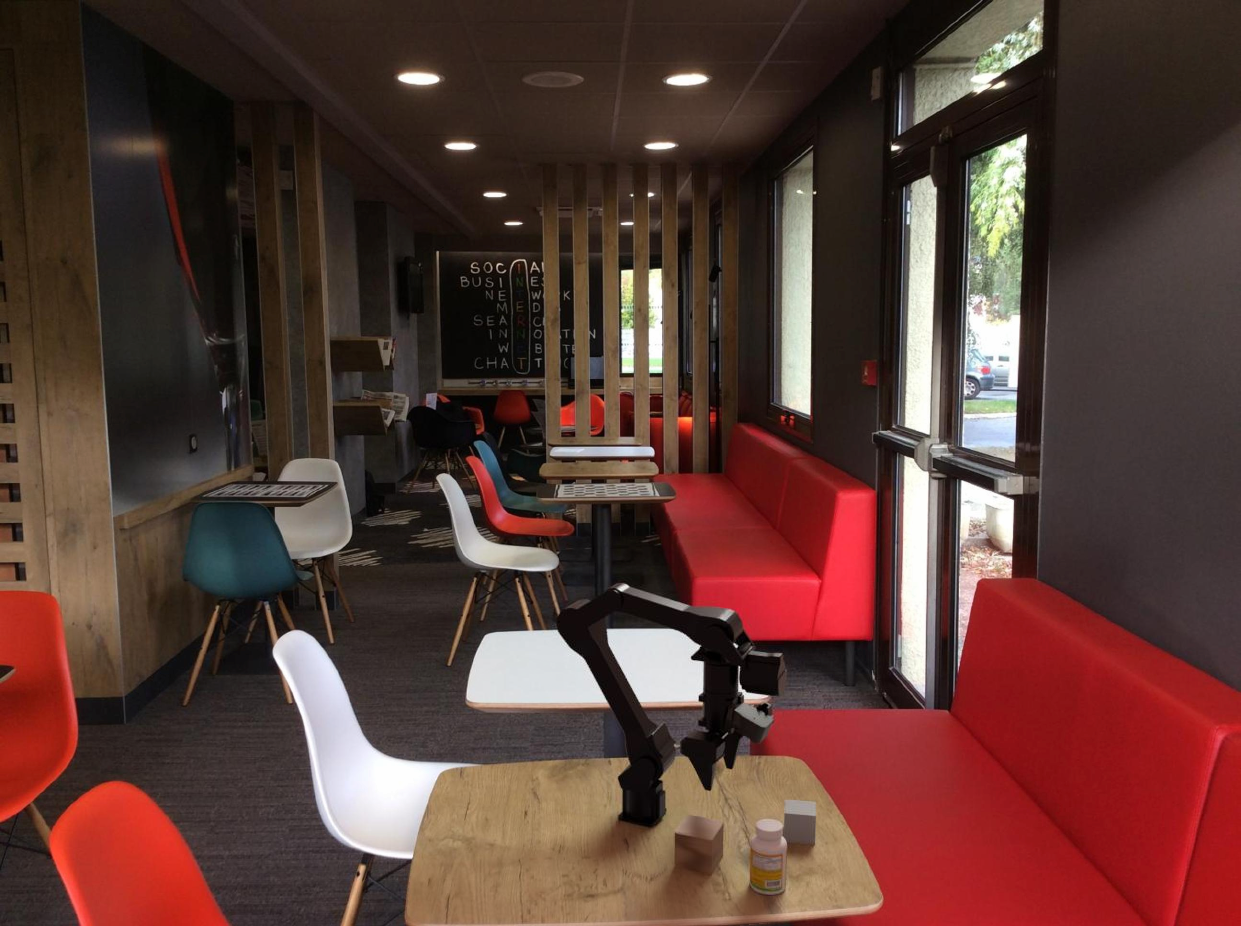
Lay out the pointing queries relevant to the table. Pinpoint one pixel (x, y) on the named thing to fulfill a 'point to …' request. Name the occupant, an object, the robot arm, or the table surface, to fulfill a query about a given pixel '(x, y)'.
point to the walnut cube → (699, 844)
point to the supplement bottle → (768, 858)
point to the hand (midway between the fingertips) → (719, 779)
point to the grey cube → (800, 821)
